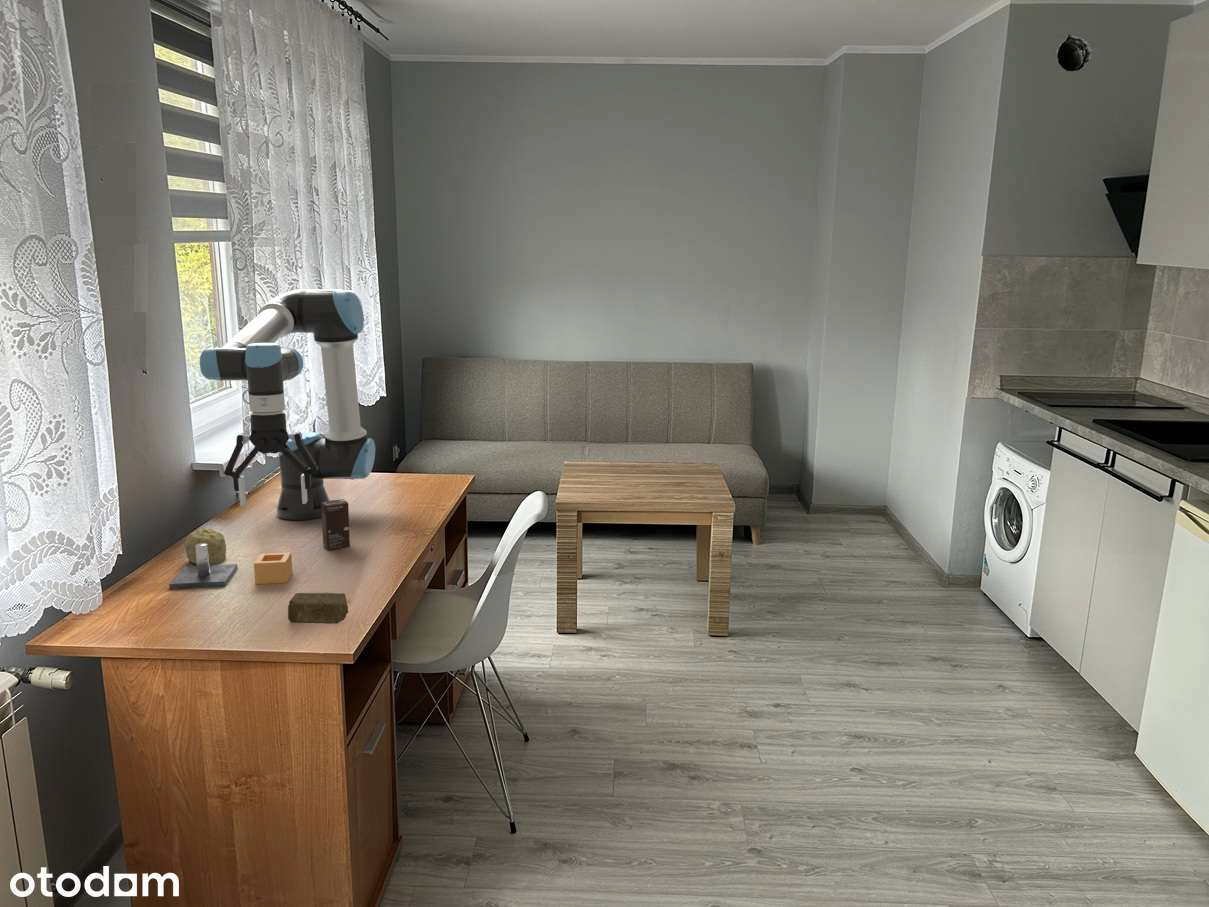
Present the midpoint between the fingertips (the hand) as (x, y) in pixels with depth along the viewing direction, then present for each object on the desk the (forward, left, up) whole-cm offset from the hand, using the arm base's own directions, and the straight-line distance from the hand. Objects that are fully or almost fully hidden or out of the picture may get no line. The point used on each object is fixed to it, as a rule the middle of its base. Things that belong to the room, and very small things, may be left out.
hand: (274, 503), depth 211 cm
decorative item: (-16, -20, -18) cm, 32 cm away
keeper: (-2, -17, -18) cm, 25 cm away
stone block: (+26, +13, -18) cm, 35 cm away
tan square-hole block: (0, -1, -18) cm, 18 cm away
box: (-22, +10, -18) cm, 30 cm away
